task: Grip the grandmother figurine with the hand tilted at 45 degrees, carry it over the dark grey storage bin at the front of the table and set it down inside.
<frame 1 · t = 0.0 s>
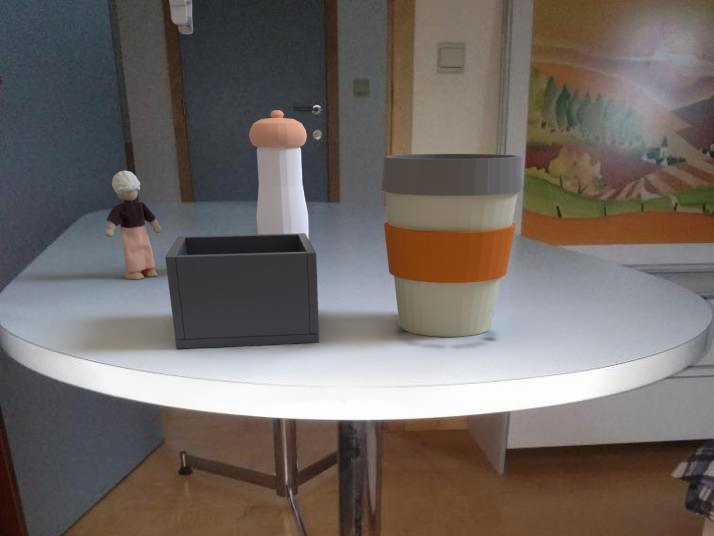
hand: (183, 29, 89), 28 cm above the table, tool pointing down, fingers open, 8 cm apart
grandmother figurine: (138, 278, 94), on the table
pepper shaker: (285, 273, 96), on the table
reusable coffee cup: (444, 326, 70), on the table
dark grey storage bin: (248, 328, 70), on the table
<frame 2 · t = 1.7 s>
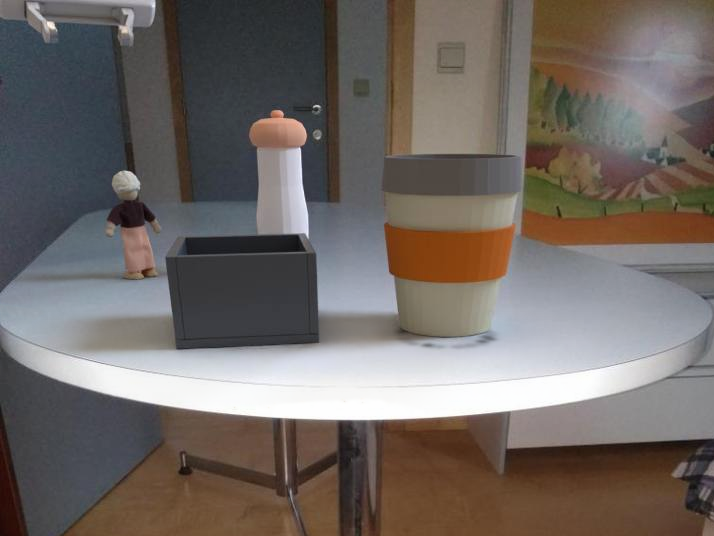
hand: (90, 40, 92), 27 cm above the table, tool tilted 45°, fingers open, 8 cm apart
nothing on the table moved.
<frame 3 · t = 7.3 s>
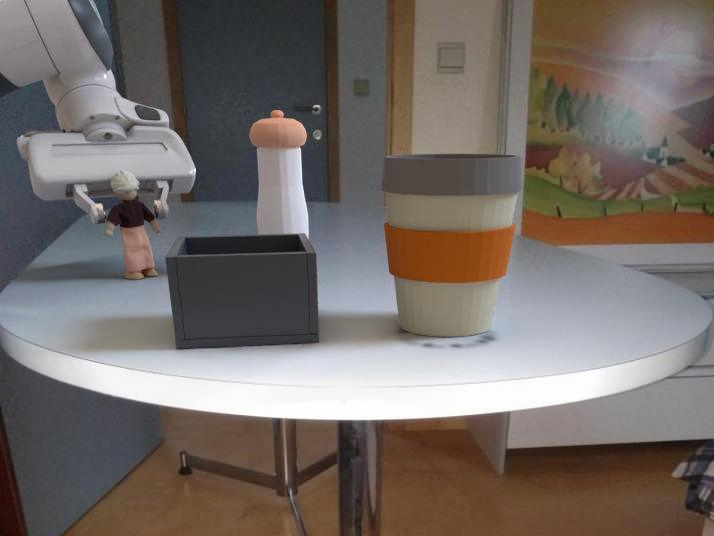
hand: (132, 218, 90), 7 cm above the table, tool tilted 45°, fingers closed on grandmother figurine, 6 cm apart
grandmother figurine: (138, 278, 94), on the table, touching gripper
everything else where it was.
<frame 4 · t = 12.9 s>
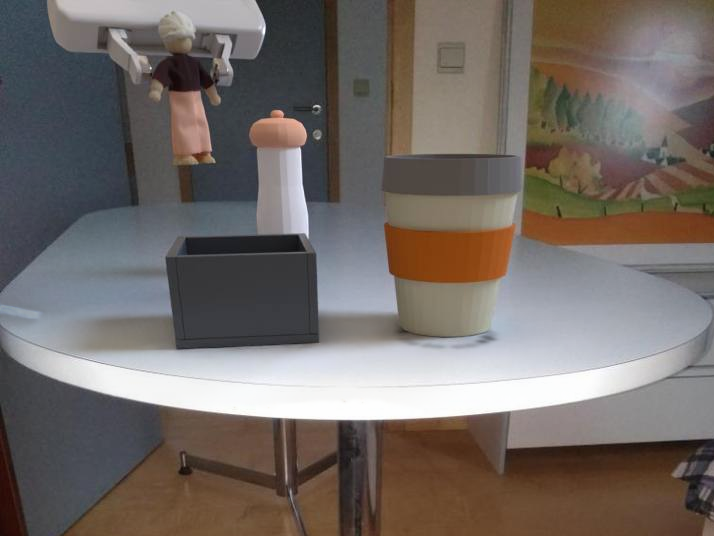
hand: (186, 79, 67), 21 cm above the table, tool tilted 45°, fingers closed on grandmother figurine, 6 cm apart
grandmother figurine: (191, 166, 71), point 14 cm above the table, touching gripper
everything else where it was.
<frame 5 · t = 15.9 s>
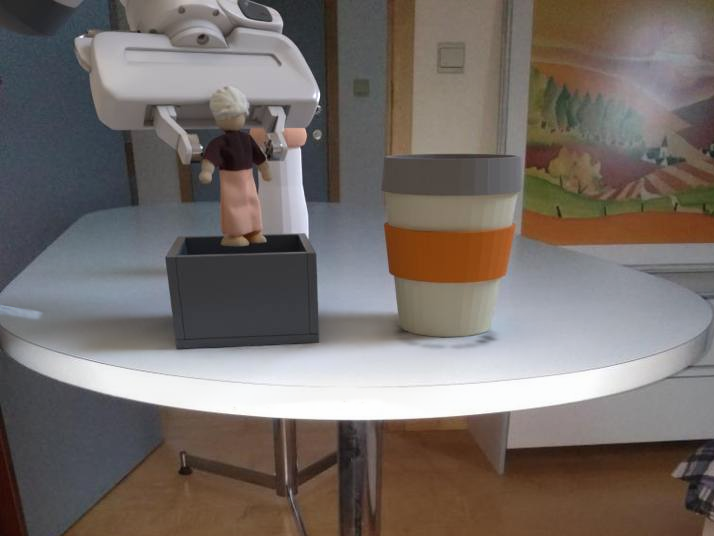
hand: (238, 157, 62), 15 cm above the table, tool tilted 45°, fingers closed on grandmother figurine, 6 cm apart
grandmother figurine: (240, 246, 66), point 8 cm above the table, touching gripper
everything else where it was.
when the fingers open (8 cm above the table, at t = 18.5 s): grandmother figurine stays where it is, resting on dark grey storage bin.
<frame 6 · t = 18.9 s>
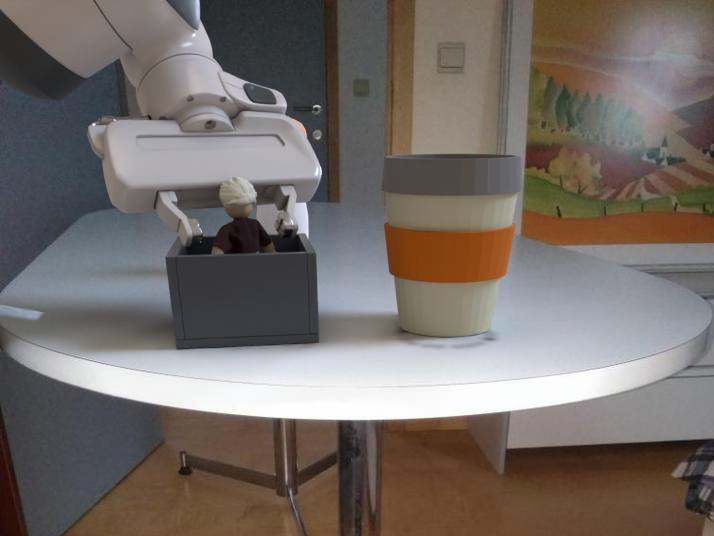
hand: (243, 237, 65), 8 cm above the table, tool tilted 45°, fingers open, 8 cm apart
grandmother figurine: (247, 322, 69), point 1 cm above the table, touching dark grey storage bin
everything else where it was.
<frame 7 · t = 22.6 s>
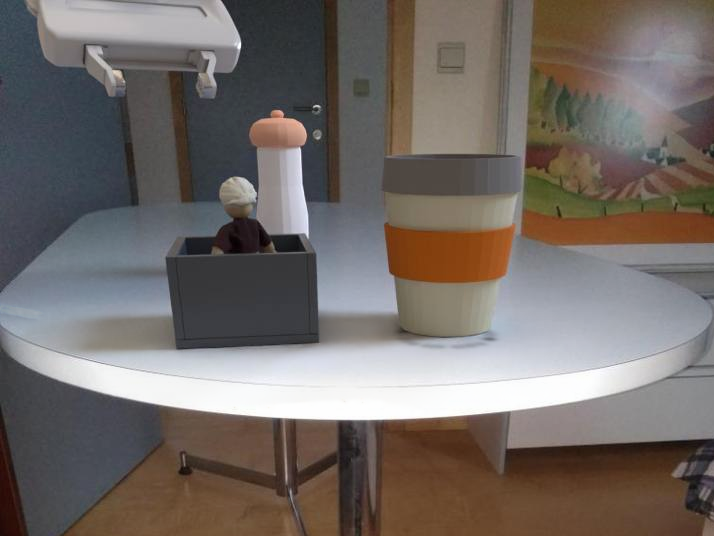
hand: (165, 92, 73), 21 cm above the table, tool tilted 45°, fingers open, 8 cm apart
nothing on the table moved.
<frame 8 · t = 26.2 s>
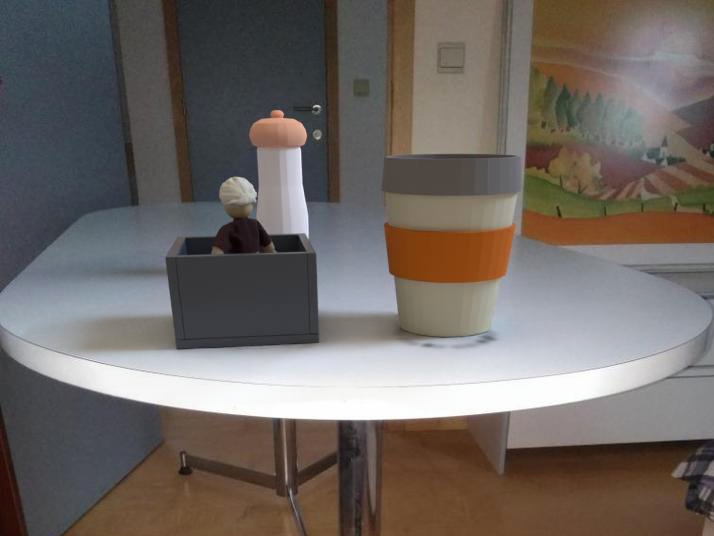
nothing on the table moved.
at the end: grandmother figurine inside the target area in the dark grey storage bin (0.1 cm from its centre), point 0.6 cm above the dark grey storage bin's base; grandmother figurine tilted 0°; the gripper is holding nothing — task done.
